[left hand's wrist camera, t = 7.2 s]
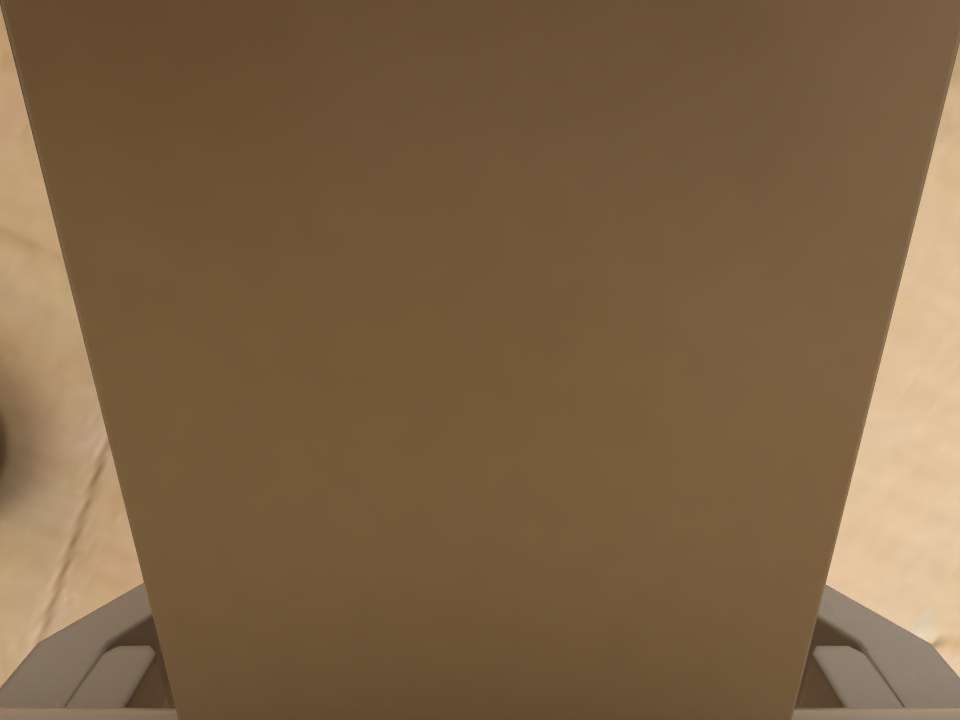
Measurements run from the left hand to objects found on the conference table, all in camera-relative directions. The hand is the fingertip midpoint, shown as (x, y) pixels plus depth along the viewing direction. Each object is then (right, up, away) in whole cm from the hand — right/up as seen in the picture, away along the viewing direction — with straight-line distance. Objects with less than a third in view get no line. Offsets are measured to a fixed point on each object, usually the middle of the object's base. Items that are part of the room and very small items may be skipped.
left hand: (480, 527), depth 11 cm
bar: (0, +10, 0) cm, 10 cm away
